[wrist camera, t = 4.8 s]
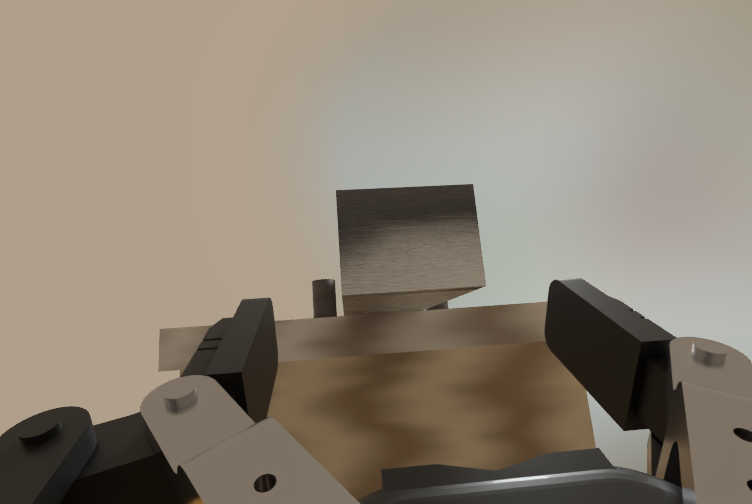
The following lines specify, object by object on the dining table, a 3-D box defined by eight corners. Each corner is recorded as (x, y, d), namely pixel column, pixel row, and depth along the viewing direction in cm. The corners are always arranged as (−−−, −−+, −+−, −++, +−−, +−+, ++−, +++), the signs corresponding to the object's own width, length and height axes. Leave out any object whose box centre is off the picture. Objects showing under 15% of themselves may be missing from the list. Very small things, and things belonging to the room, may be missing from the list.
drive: (341, 295, 11) (336, 190, 12) (345, 326, 37) (343, 292, 37) (486, 285, 12) (472, 184, 12) (390, 322, 37) (387, 289, 38)
